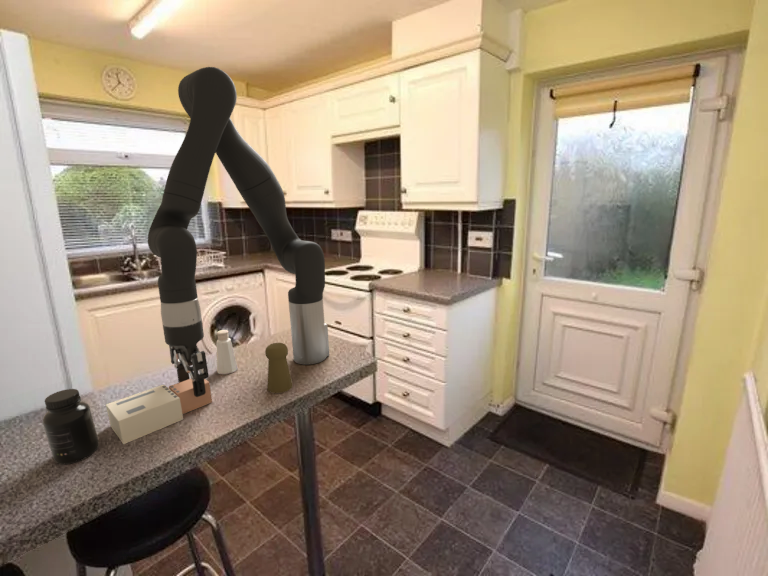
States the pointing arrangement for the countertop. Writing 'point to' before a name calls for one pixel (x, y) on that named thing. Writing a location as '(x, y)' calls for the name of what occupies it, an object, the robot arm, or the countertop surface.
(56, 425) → the supplement bottle
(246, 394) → the countertop surface
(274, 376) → the brown pawn
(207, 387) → the orange box
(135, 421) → the cream box
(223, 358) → the salt shaker
